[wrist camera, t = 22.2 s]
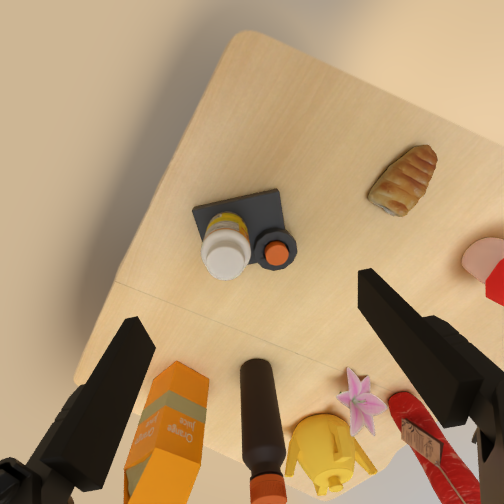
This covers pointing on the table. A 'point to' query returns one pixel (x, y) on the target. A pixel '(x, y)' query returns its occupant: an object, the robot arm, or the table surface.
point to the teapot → (326, 452)
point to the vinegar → (262, 433)
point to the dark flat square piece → (253, 223)
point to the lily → (361, 403)
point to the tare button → (276, 253)
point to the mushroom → (487, 266)
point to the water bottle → (434, 451)
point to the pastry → (404, 181)
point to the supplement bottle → (226, 246)
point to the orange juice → (168, 439)
